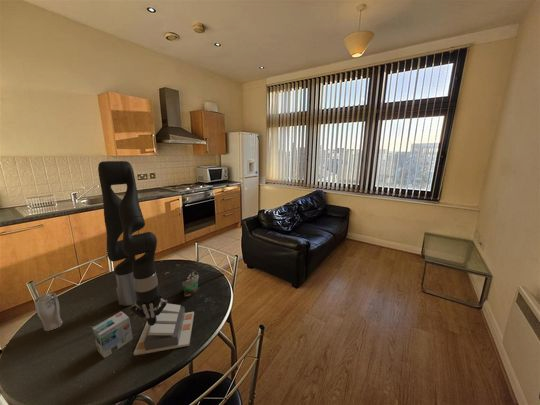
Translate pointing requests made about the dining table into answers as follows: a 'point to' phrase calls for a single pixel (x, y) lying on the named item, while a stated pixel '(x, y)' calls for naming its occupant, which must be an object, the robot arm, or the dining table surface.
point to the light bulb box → (112, 334)
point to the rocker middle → (167, 318)
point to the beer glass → (48, 311)
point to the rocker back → (171, 308)
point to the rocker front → (162, 329)
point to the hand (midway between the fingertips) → (152, 323)
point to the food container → (191, 284)
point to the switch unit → (167, 341)
